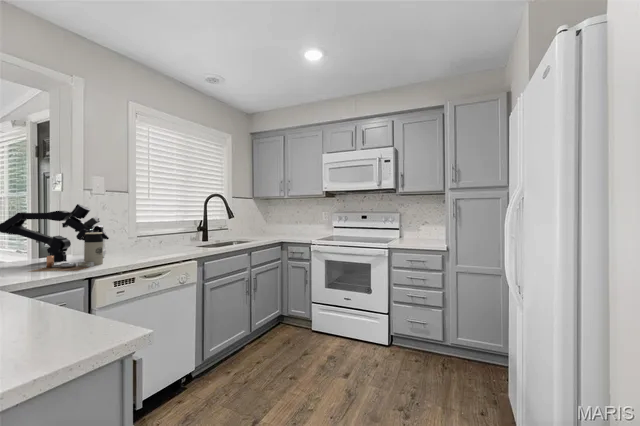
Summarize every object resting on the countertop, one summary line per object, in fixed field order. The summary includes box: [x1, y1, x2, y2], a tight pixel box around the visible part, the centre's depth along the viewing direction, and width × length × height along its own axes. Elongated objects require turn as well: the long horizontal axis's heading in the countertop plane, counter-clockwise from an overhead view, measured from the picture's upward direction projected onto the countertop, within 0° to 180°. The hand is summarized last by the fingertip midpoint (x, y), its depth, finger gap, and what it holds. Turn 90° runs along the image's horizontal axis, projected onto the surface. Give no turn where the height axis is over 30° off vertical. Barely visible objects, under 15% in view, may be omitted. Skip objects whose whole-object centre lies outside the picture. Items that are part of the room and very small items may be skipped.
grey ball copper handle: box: [45, 255, 77, 268], centre depth 151 cm, size 12×6×6 cm, turn 99°
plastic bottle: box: [103, 227, 107, 258], centre depth 193 cm, size 6×7×20 cm
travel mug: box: [83, 232, 104, 266], centre depth 161 cm, size 8×8×18 cm
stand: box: [27, 261, 95, 273], centre depth 148 cm, size 21×14×3 cm, turn 99°
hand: (104, 240), depth 175 cm, fingers open, 9 cm apart
